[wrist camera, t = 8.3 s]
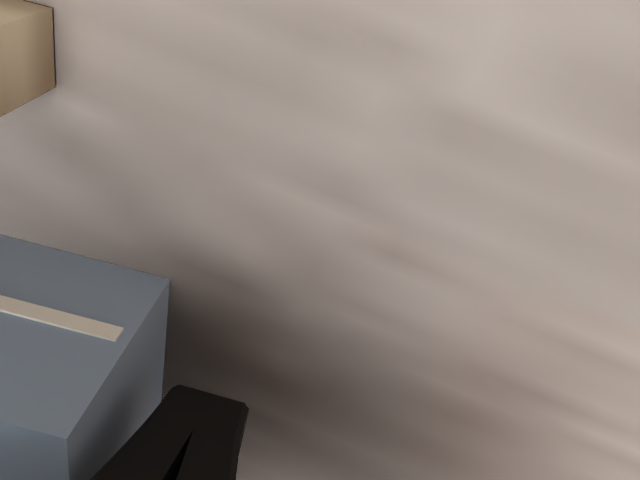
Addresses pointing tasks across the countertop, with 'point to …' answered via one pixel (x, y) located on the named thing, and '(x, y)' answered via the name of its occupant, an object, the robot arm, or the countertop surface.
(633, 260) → the countertop surface
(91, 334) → the striped grey-blue box
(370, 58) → the countertop surface
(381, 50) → the countertop surface
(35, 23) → the open wooden tray
